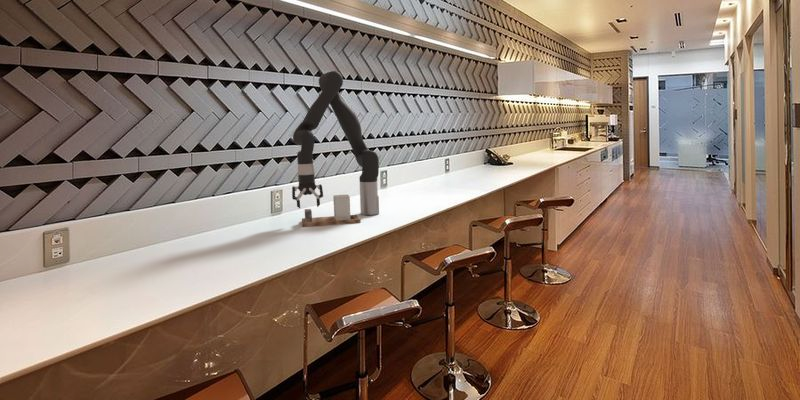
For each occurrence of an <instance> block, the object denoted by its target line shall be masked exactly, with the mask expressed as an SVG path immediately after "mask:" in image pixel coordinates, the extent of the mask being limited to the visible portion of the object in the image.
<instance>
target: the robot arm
mask: <svg viewBox="0 0 800 400" xmlns="http://www.w3.org/2000/svg"><path fill="white" fill-rule="evenodd" d="M343 84H344V78H343V75H342V74H341V73H340V72H339V71H336V70H331V71H328V72H325V73H323V74H321V75H320V76H319V77H318V85H319V88H320V90H321V93H320V94H319V96H318V97H317V98H316V99H315V100H314V102H313V103H312V105H311V106H310V107H309V109H308V111H307V113H306V114H305V116H304V118H303V120H302V121H301V123H300V124H299V125H298V126H297V128H296V129H295V131H294V132H293V135H292V140H293V143H294V144H295V145H297V146H301V148H300V150H299V151H298V152H296V153H297V154H296V157H297V158H296V160H297V161H296V162H297V178H298V180H297V181H298V186H294V185H293V186H292V187H291V193H292V194H291V195H292V197H291V198H292V200H294V201H296V207H297V208H298V209H301V200H300V199H301V198H302V196H307V195H309V196H310V195H314V197H315V198H316V207H317V208H319V206H320V205H321V202H320V201H321V200H320V199H322V198H324V191H323V185H322V184H321V183H319V184H317V185H316V180H315V179H316V178H315V168H314V167H315V166H314V158H313V153H314V148H315V147H314V146H315V136H314V133H313V132H312V131H315V130H316V129H317V128H318V127H319V124H320V123H321V121H322V119H323V116H324V115H325V113H326V111H327V110H328V108H329V105H330V107H331V109H332V111H333V113H334V115H335V117H336V119H337V121H338V123H339V125H340V128H341V130H342V131H343V134H344V135H345V137H346V139H347V141H348V143H349V145H350V147H351V149H352V153H353V155H354V157H355V160H356V162H357V165H359V166H360V167H361V174H360V175H359V198H360V199H359V204H360V205H359V206H360V215H363V216H375V215H380V204H379V203H380V201H379V193H378V176H379V170H380V169H379V168H380V167H379V165H380V163H379V161H380V160H379V155H378V153H377V152H376V151H374V150H370V149H369V148H368V147H367V144H366V143H365V141H364V139H363V134H362V126H361V123H360V121H359V119H358V117H357V114H356V113H355V111H354V110H353V108H351V106H350V105H349V104H348V103H347V102H346V101H345V100H344V99H343V97H342V96H341V94H340V92H339V91H340V90H341V88H342V87H343ZM316 189H317V190H319V195H318V194H317V192H316ZM297 190H298V191H299V193H298V195H297V196H296V192H297Z"/></svg>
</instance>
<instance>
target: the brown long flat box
mask: <svg viewBox="0 0 800 400" xmlns="http://www.w3.org/2000/svg"><path fill="white" fill-rule="evenodd" d="M312 214H313V213H312V208H306V209H304V218H303V217H302V218H301V223H302V224H301V225H302V228H304V227H305V228H308V227H317V226H318V227H320V226H332V225H346V224H347V225H348V224H360V223H361V222H362V221H361V218H360V217H359V216H358V214H350V217H351V220H338V221H336V220H335V218H334V215H333V216H330V215H329V216H317V217H313V215H312Z"/></svg>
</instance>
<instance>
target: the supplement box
mask: <svg viewBox="0 0 800 400" xmlns="http://www.w3.org/2000/svg"><path fill="white" fill-rule="evenodd" d="M332 200H333V216H334V218H335V220H336V221H338V220H352V219H351V217H350V215H351V197H350V195H348V194H334V195H333V199H332Z"/></svg>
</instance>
